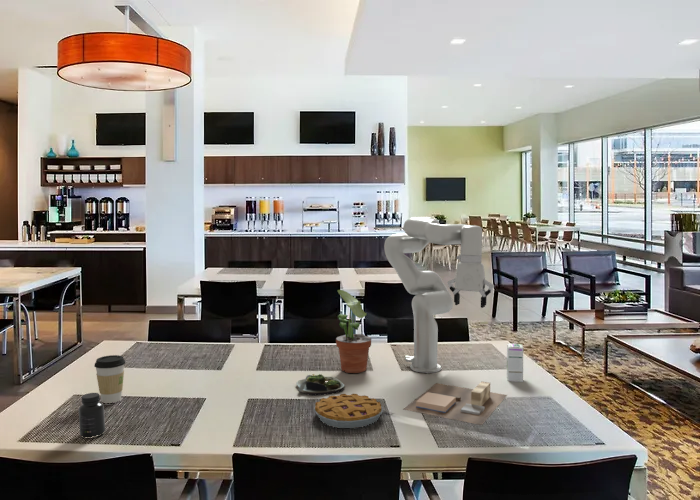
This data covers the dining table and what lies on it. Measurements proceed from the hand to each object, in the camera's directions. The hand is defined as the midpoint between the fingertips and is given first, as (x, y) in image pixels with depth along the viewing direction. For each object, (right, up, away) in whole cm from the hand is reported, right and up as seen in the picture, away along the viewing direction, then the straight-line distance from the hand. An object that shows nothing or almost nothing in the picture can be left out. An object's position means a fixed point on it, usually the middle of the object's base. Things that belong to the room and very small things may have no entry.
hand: (469, 305), depth 206 cm
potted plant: (-42, -29, +21) cm, 55 cm away
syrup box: (+18, -30, +6) cm, 36 cm away
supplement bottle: (-120, -34, -40) cm, 131 cm away
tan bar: (-2, -31, -20) cm, 37 cm away
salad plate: (-55, -31, +1) cm, 63 cm away
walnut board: (-8, -32, -18) cm, 37 cm away
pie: (-45, -33, -27) cm, 62 cm away
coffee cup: (-126, -32, -13) cm, 131 cm away
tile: (-13, -28, -17) cm, 35 cm away
